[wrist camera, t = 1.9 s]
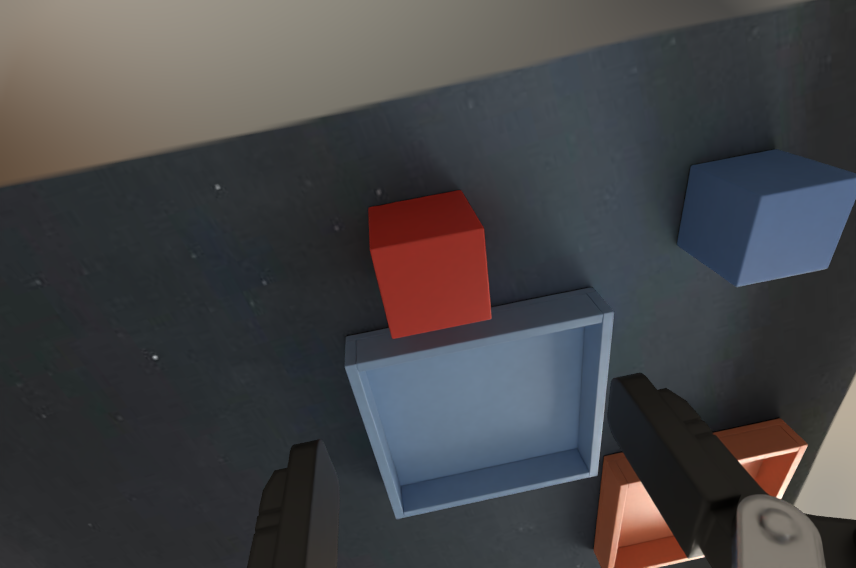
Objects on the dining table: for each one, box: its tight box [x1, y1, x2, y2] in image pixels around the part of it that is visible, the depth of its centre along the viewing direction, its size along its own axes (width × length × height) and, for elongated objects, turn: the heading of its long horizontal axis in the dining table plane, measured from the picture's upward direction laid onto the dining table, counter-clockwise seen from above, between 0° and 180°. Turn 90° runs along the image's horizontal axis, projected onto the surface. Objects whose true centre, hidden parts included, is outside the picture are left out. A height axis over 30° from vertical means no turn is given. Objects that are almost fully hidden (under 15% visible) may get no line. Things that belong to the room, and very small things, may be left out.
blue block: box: [677, 149, 856, 287], centre depth 21 cm, size 4×4×4 cm
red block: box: [368, 190, 492, 339], centre depth 20 cm, size 4×4×4 cm
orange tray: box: [594, 418, 808, 568], centre depth 36 cm, size 14×14×2 cm
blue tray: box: [345, 287, 614, 519], centre depth 27 cm, size 14×14×2 cm
